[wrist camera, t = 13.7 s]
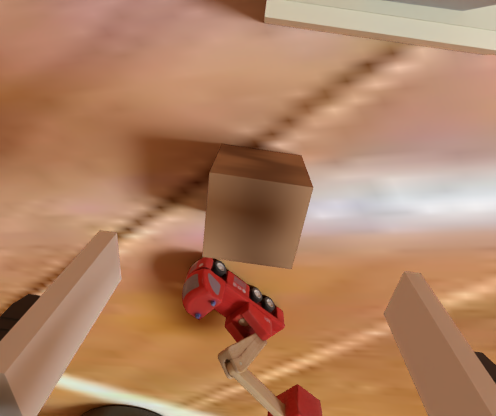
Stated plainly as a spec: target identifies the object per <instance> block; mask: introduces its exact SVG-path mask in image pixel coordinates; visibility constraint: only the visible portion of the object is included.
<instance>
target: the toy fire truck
mask: <svg viewBox="0 0 496 416" xmlns="http://www.w3.org/2000/svg"><path fill="white" fill-rule="evenodd" d="M182 301H183V305H184V308H185V310H186V311H187V312H188V313H189V314H191V315H192V316H194V317H195V318H197V319H198V320H200V319H201V318H203V317H204V316H205V315H207V314H208V313H209V312H210V311H212V310H213V309H214V310H216V311H217V312H219V313H220V314H222V315H223V316H224V317H226V321H225V328H226V329H227V330H228V332H229V333H230V334H231V335H232V337H233V338H234V339H235V341H236V342H237V343H235V344H233V345H231V346H229V347H227V348H226V349H225V350H223V351H222V352H220V353H219V354H218V359H219V361H220V363H221V366H222V368H223V370H224V372H225V374H226V376H227V378H229V379H232V378H235V379H236V380H237V381H238V382H239V383H240V384H241V385H242V386H243V387H244V388H245V389H246V390H247V391H248V392H249V393H250V394H251V395H252V396H253V397H254V398H255V399H256V400H257V401H258V402H259V403H260V404H261V405H262V406H263V407H264V408H266V409H267V410H268V416H322V410H321V404H320V400H318V399H317V398H315V397H314V396H313V395H312V394H311V393H309V392H308V391H306V390H305V389H303V388H302V387H301V386H299V385H298V384H297V385H295V386H293V387H292V388H290V389H289V390H286V392H283V393H282V394H280V395H278V396H275V395H274V394H273V393H272V392H271V391H270V390H269V389H268V388H267V387H266V386H265V385H264V384H263V383H262V382H260V381H259V380H258V379H257V378H256V377H255V376H254V375H253V374H252V373H251V372H250V371H249V370H248V369H247V368H248V366H249V365H250V364H251V363H252V361H253V360H254V359H255V357H256V356H257V355H258V354H259V352H260V351H261V350H262V349H263V347H264V346H265V345H266V344H267V341H266V340H267V339H268V338H270V337H271V336H273V335H275V334H276V333H277V332H279V331H280V330H282V329H283V328H284V327H285V324H284V316H283V311H282V310H281V309H279V308H278V307H276V308H275V305H274V303H273V301H272V300H271V299H270V298H269V297H265V298H263V299H262V294H261V292H260V291H259V290H258V289H257V288H255V287H253V288H251V289H250V288H249V285H247V284H246V283H245V282H244V281H242V280H241V279H239V278H238V277H237V276H236V275H234V274H233V273H232V272H230V271H227V272H226V267H225V265H224V264H223V263H222V262H221V261H218V260H217V261H215V262H214V261H213V259H212V258H208V257H204V258H202V259H200V260H198V261H197V262H195V263H194V264H193V265H192V266H191V268H190V269H189V271H188V274H187V277H186V280H185V283H184V286H183V291H182Z"/></svg>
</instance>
